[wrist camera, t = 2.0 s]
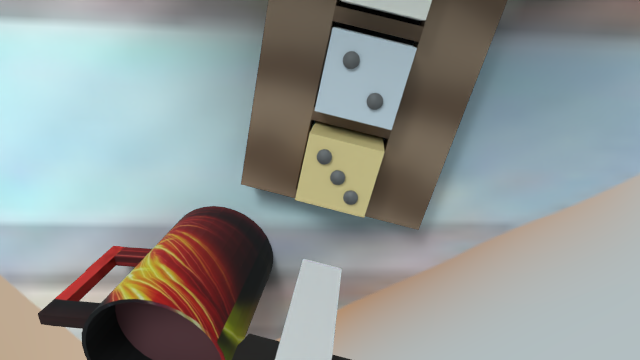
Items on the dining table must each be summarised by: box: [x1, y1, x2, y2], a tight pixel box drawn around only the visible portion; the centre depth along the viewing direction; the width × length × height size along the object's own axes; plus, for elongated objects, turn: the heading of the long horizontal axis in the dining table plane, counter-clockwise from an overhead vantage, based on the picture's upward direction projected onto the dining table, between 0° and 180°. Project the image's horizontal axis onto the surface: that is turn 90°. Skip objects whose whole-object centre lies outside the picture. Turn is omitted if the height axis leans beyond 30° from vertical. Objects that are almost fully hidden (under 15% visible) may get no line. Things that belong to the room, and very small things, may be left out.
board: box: [241, 0, 507, 230], centre depth 26 cm, size 20×14×2 cm
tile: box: [295, 121, 385, 218], centre depth 27 cm, size 5×5×4 cm
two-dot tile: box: [314, 27, 417, 130], centre depth 24 cm, size 5×5×4 cm
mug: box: [38, 206, 273, 360], centre depth 30 cm, size 10×14×12 cm
